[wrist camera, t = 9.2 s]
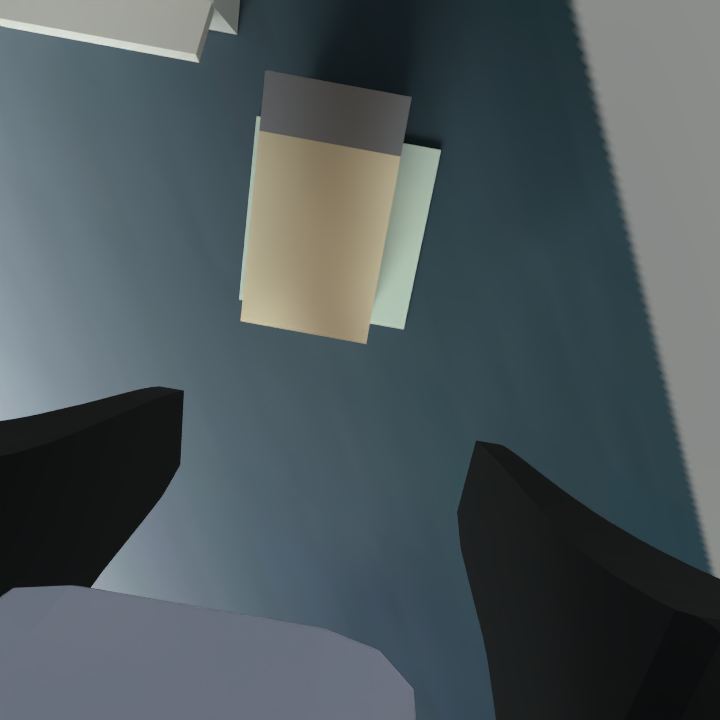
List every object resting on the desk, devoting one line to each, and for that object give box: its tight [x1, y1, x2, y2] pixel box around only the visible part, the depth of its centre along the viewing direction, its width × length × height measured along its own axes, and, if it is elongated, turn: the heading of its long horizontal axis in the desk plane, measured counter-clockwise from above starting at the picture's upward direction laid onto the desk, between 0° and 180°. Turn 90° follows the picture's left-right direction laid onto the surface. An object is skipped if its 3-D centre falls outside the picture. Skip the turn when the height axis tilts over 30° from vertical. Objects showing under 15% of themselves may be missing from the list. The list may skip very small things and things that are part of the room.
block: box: [241, 70, 412, 344], centre depth 16 cm, size 4×7×5 cm, turn 170°
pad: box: [239, 116, 441, 329], centre depth 19 cm, size 7×7×1 cm
